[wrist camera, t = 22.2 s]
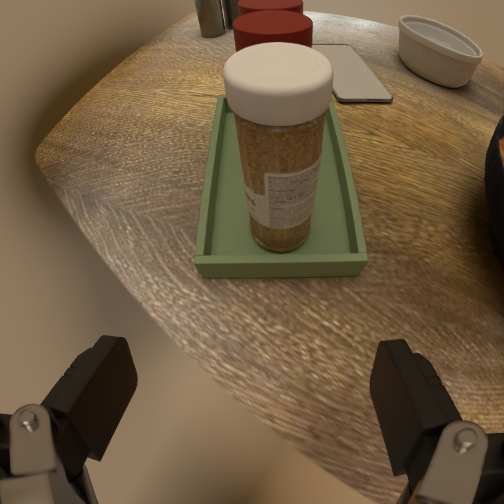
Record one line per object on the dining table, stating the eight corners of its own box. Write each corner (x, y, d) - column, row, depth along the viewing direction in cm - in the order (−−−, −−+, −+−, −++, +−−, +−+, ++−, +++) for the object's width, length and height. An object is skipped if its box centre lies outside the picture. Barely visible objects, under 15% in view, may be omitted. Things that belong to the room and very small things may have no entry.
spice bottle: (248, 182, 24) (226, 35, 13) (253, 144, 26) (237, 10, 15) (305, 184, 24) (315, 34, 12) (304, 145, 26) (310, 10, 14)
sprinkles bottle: (246, 206, 23) (218, 45, 11) (303, 198, 23) (315, 36, 11) (254, 260, 21) (225, 95, 9) (318, 250, 21) (352, 84, 9)
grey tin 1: (199, 39, 40) (188, -12, 31) (204, 30, 42) (195, -17, 33) (223, 36, 40) (214, -16, 31) (227, 28, 41) (219, -21, 32)
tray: (358, 275, 21) (368, 260, 19) (202, 278, 22) (193, 263, 19) (328, 111, 29) (330, 92, 26) (222, 114, 30) (218, 94, 27)
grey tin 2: (224, 29, 41) (216, -20, 32) (227, 22, 43) (221, -24, 34) (247, 28, 41) (242, -22, 32) (250, 21, 42) (244, -26, 33)
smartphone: (349, 44, 35) (395, 99, 29) (349, 47, 36) (394, 103, 29) (304, 44, 35) (339, 99, 29) (304, 47, 36) (338, 103, 29)
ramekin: (395, 76, 32) (405, 33, 26) (389, 41, 37) (394, 7, 31) (478, 105, 30) (494, 68, 23) (458, 64, 35) (468, 33, 29)
